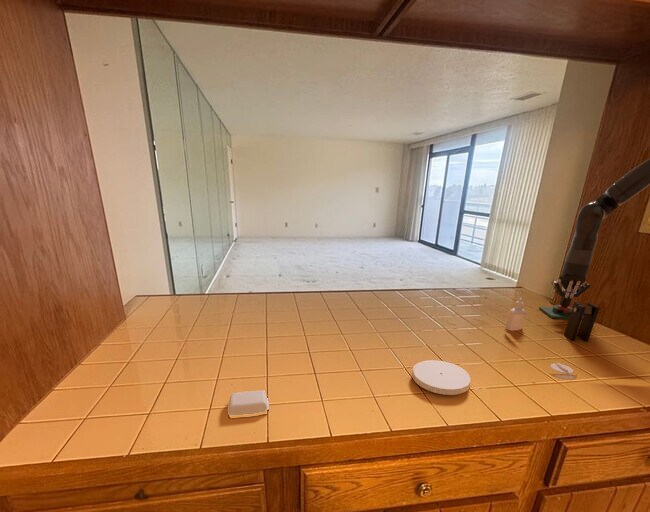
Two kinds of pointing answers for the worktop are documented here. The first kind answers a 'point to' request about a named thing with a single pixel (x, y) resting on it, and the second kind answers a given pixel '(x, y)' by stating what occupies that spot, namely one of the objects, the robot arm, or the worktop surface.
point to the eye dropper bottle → (516, 317)
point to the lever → (587, 310)
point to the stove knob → (563, 371)
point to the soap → (248, 402)
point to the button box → (552, 314)
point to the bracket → (585, 324)
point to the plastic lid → (441, 377)
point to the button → (563, 307)
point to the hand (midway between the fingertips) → (563, 306)
